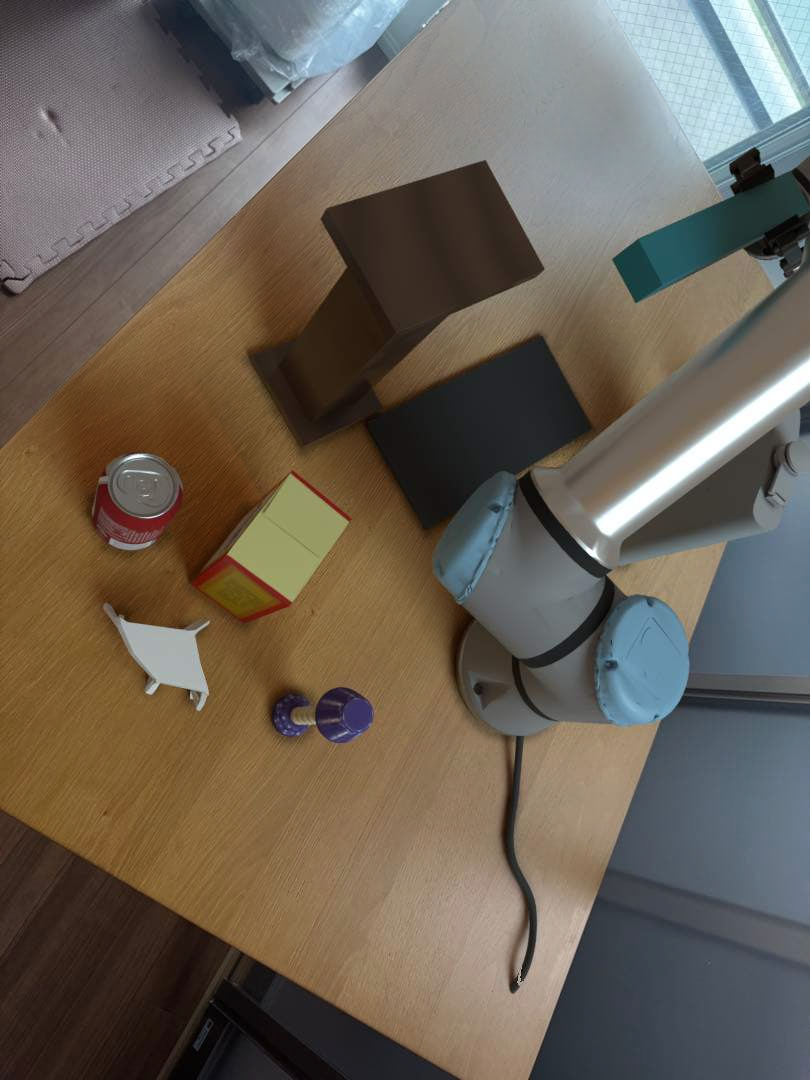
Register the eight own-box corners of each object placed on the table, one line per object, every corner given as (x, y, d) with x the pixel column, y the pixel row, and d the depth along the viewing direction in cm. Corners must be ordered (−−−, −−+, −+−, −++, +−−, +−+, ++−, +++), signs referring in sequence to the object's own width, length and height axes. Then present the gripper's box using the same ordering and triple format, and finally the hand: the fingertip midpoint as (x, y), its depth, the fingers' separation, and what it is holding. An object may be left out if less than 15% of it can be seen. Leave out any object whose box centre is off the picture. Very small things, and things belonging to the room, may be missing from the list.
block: (762, 190, 68) (791, 170, 66) (782, 228, 69) (811, 209, 66) (611, 259, 58) (638, 238, 55) (635, 304, 58) (663, 285, 55)
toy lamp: (283, 681, 73) (342, 677, 59) (323, 699, 75) (391, 699, 60) (264, 727, 72) (320, 735, 57) (305, 744, 73) (371, 756, 58)
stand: (348, 320, 85) (482, 153, 59) (395, 403, 85) (548, 274, 59) (229, 368, 77) (322, 201, 51) (281, 458, 78) (400, 339, 52)
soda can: (155, 560, 70) (174, 535, 60) (81, 540, 68) (88, 511, 57) (174, 495, 72) (196, 460, 62) (103, 474, 70) (113, 433, 59)
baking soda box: (243, 623, 73) (291, 605, 59) (190, 584, 71) (225, 555, 57) (296, 550, 77) (353, 517, 62) (247, 511, 75) (293, 468, 61)
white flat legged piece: (232, 634, 72) (244, 630, 68) (194, 715, 69) (204, 716, 65) (116, 581, 68) (121, 573, 64) (71, 663, 65) (73, 661, 61)
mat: (539, 337, 97) (542, 335, 97) (590, 429, 98) (592, 428, 97) (364, 423, 83) (366, 422, 82) (424, 530, 84) (427, 529, 83)
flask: (629, 573, 96) (802, 535, 74) (603, 556, 95) (772, 513, 73) (660, 465, 102) (828, 401, 80) (636, 448, 101) (800, 378, 79)
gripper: (772, 307, 84) (771, 317, 64) (702, 174, 83) (678, 142, 63) (842, 269, 80) (864, 266, 60) (769, 128, 79) (766, 78, 59)
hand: (769, 202), depth 61 cm, fingers closed on block, 4 cm apart
